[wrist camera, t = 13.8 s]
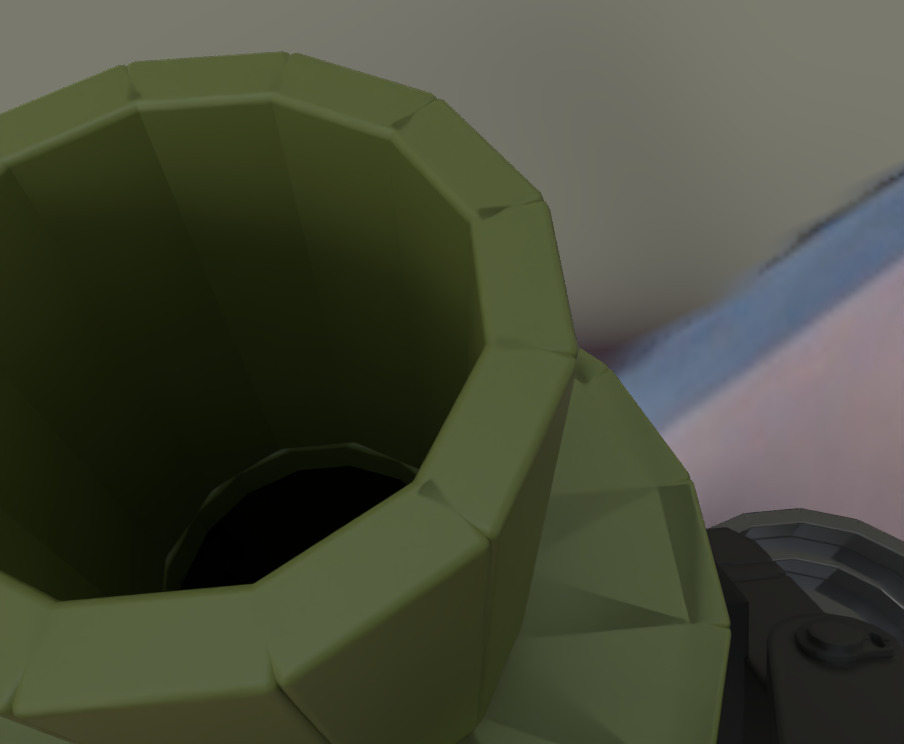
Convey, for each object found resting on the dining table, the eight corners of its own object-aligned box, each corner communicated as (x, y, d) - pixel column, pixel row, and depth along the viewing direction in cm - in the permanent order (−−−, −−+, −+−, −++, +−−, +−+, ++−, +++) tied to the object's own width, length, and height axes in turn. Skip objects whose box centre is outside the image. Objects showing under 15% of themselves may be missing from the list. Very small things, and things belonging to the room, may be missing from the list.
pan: (907, 525, 34) (945, 494, 31) (1062, 911, 27) (1128, 913, 24) (585, 555, 33) (596, 525, 31) (658, 955, 26) (680, 962, 24)
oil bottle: (540, 603, 20) (734, -145, 6) (590, 944, 16) (1493, 1317, 2) (255, 629, 20) (-308, -80, 5) (243, 982, 16) (-1569, 1711, 2)
